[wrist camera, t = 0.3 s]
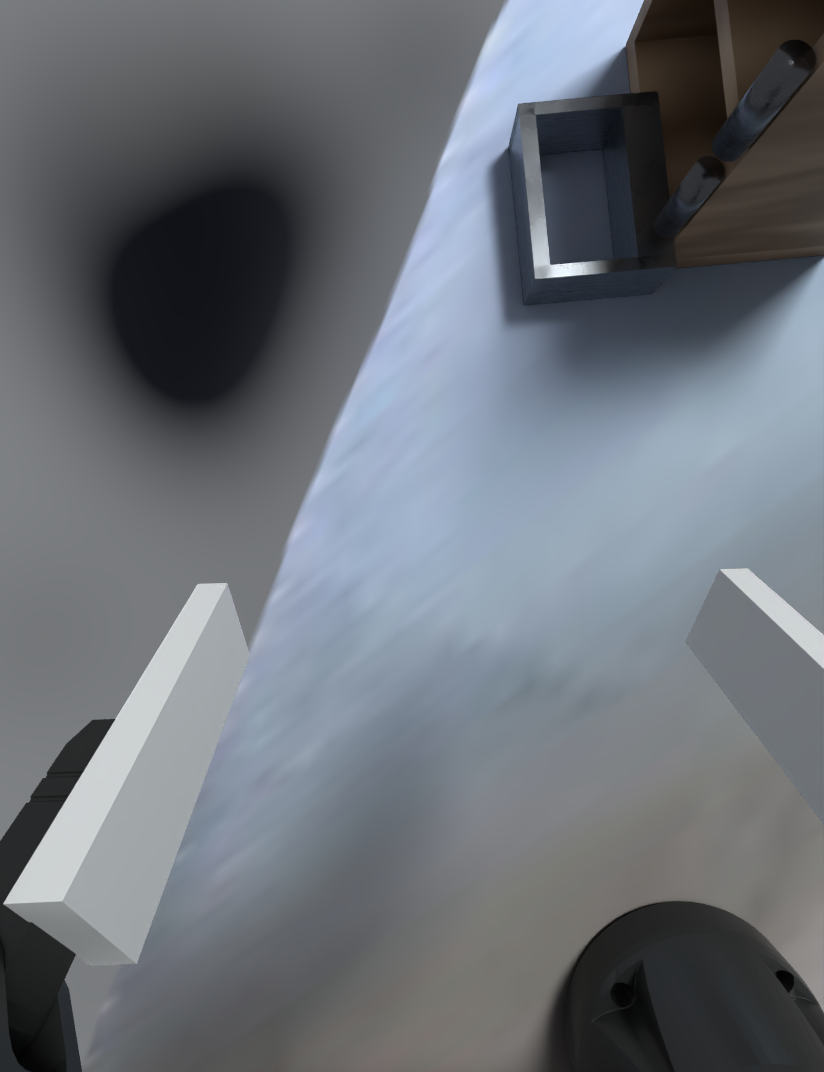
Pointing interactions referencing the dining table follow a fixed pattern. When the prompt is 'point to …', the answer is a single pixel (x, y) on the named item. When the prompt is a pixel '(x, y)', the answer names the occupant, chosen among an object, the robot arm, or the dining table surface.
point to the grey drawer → (630, 179)
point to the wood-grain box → (708, 100)
